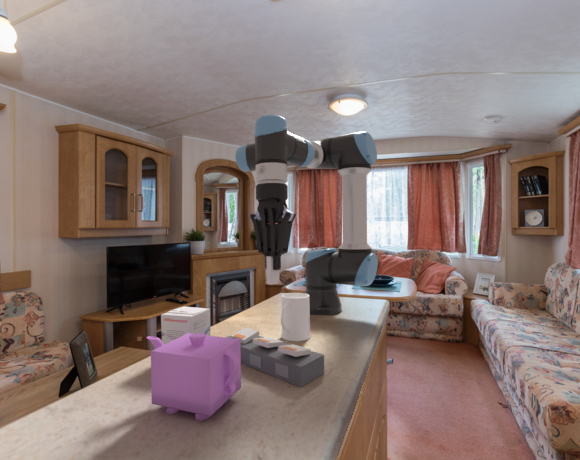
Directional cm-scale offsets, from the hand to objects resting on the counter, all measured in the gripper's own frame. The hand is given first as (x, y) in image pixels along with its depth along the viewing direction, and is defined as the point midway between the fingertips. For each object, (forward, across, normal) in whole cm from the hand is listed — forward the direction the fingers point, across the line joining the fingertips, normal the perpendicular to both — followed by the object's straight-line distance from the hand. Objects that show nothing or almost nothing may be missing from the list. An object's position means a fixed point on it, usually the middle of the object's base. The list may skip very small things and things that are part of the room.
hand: (273, 283), depth 78 cm
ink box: (+19, -18, -12) cm, 29 cm away
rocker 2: (+13, 0, -2) cm, 14 cm away
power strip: (+18, -3, -2) cm, 19 cm away
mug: (+19, -7, +15) cm, 25 cm away
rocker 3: (+13, +8, -2) cm, 16 cm away
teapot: (+19, +1, -23) cm, 30 cm away
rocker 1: (+13, -8, -2) cm, 16 cm away
